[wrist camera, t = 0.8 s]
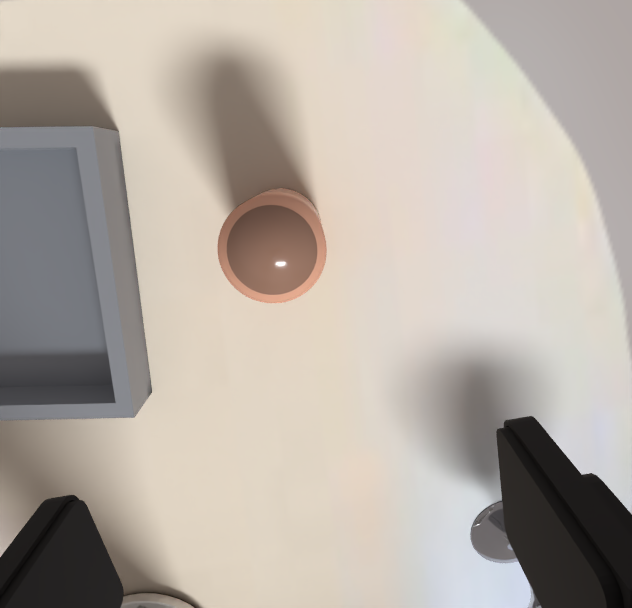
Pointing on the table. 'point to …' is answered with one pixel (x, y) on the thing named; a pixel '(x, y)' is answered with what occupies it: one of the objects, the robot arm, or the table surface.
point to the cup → (273, 246)
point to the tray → (68, 278)
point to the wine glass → (495, 540)
